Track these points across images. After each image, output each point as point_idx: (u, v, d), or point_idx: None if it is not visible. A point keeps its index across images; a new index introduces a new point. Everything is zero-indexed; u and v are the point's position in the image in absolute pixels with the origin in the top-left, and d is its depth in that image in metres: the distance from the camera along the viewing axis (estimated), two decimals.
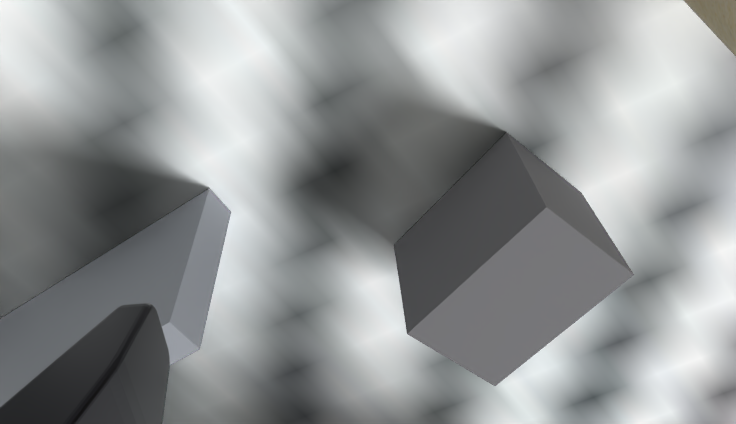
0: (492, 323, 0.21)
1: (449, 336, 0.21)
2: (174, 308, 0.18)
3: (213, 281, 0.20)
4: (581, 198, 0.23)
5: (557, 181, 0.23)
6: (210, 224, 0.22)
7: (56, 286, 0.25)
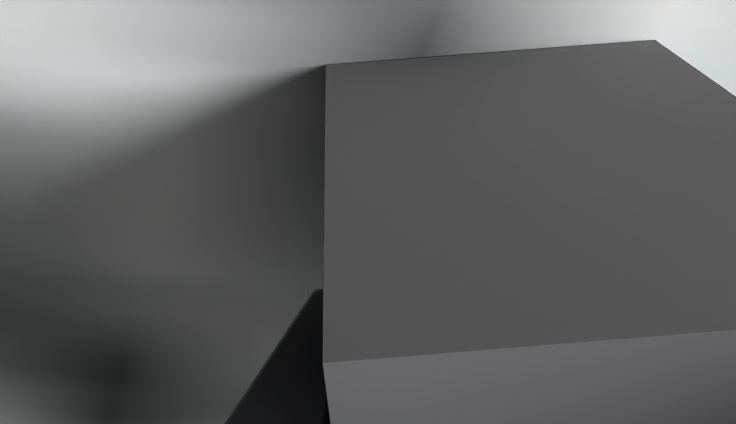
0: None
1: None
2: None
3: None
4: (653, 66, 0.07)
5: (531, 87, 0.07)
6: None
7: None
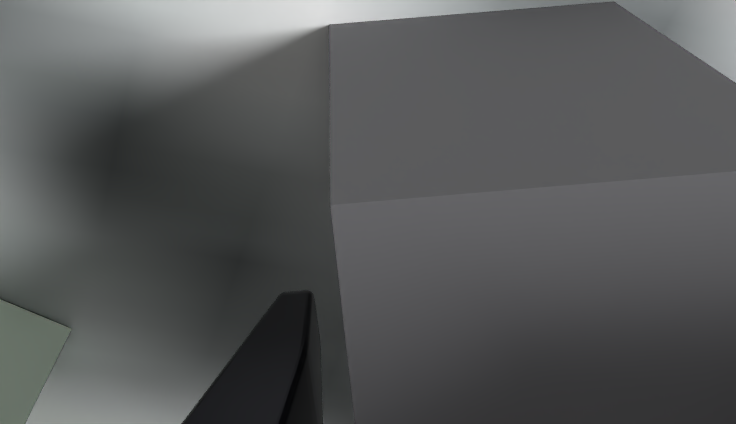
0: None
1: None
2: None
3: None
4: (606, 19, 0.09)
5: (502, 35, 0.08)
6: None
7: None
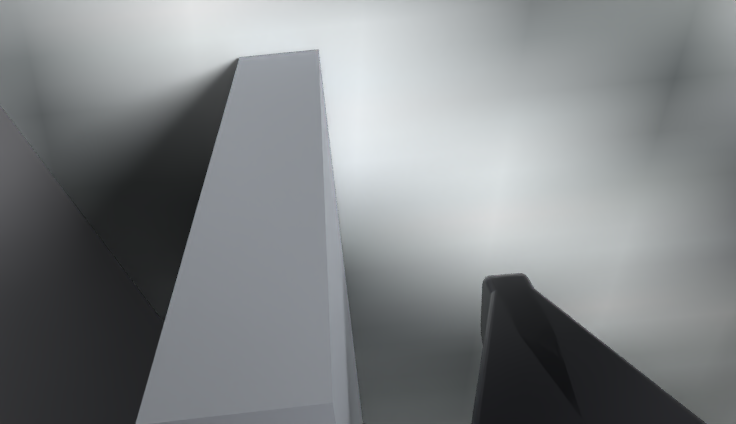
0: None
1: None
2: (156, 358, 0.04)
3: (324, 180, 0.07)
4: None
5: None
6: (264, 95, 0.08)
7: None
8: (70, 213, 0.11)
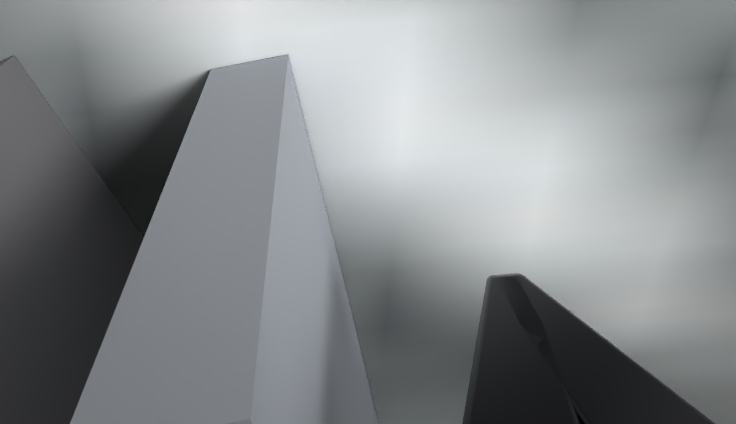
0: None
1: None
2: (87, 384, 0.04)
3: (277, 188, 0.07)
4: None
5: None
6: (228, 106, 0.08)
7: None
8: (114, 210, 0.11)
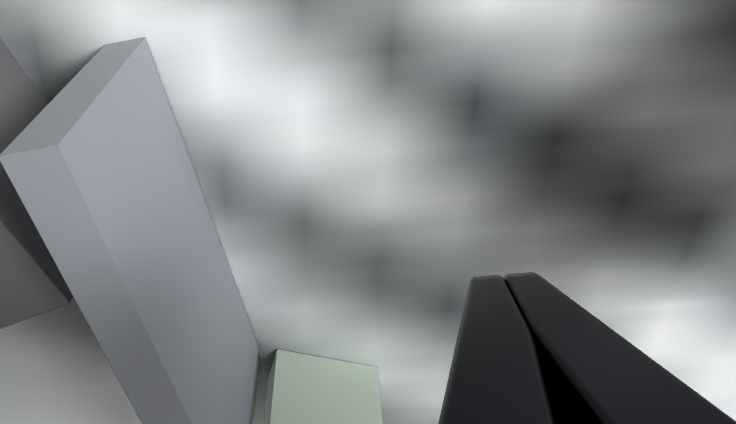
0: None
1: None
2: (11, 143, 0.13)
3: (105, 91, 0.15)
4: None
5: None
6: (102, 62, 0.17)
7: None
8: None
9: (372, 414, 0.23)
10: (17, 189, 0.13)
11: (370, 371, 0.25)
